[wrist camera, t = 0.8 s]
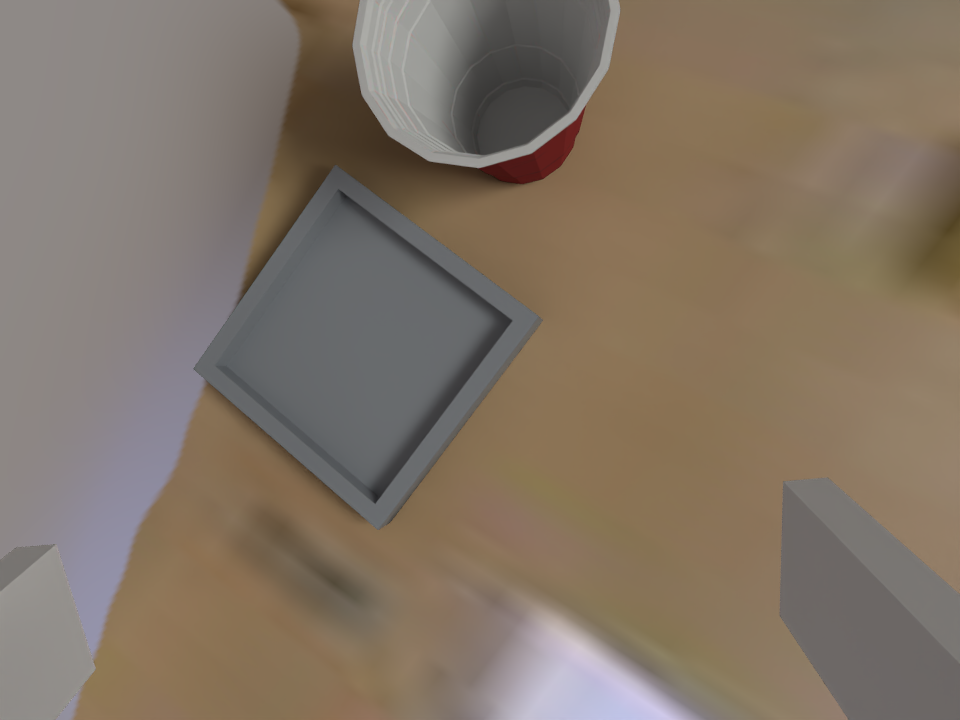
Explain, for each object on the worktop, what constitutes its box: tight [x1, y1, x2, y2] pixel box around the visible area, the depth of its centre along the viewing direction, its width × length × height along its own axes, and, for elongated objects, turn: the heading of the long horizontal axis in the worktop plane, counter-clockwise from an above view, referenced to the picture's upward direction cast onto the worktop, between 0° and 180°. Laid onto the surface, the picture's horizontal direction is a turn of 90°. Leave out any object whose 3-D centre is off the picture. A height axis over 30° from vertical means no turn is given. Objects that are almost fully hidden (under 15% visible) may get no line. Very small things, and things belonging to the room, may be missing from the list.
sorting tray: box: [194, 165, 543, 530], centre depth 37 cm, size 15×15×2 cm
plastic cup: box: [352, 0, 620, 184], centre depth 31 cm, size 11×11×12 cm
